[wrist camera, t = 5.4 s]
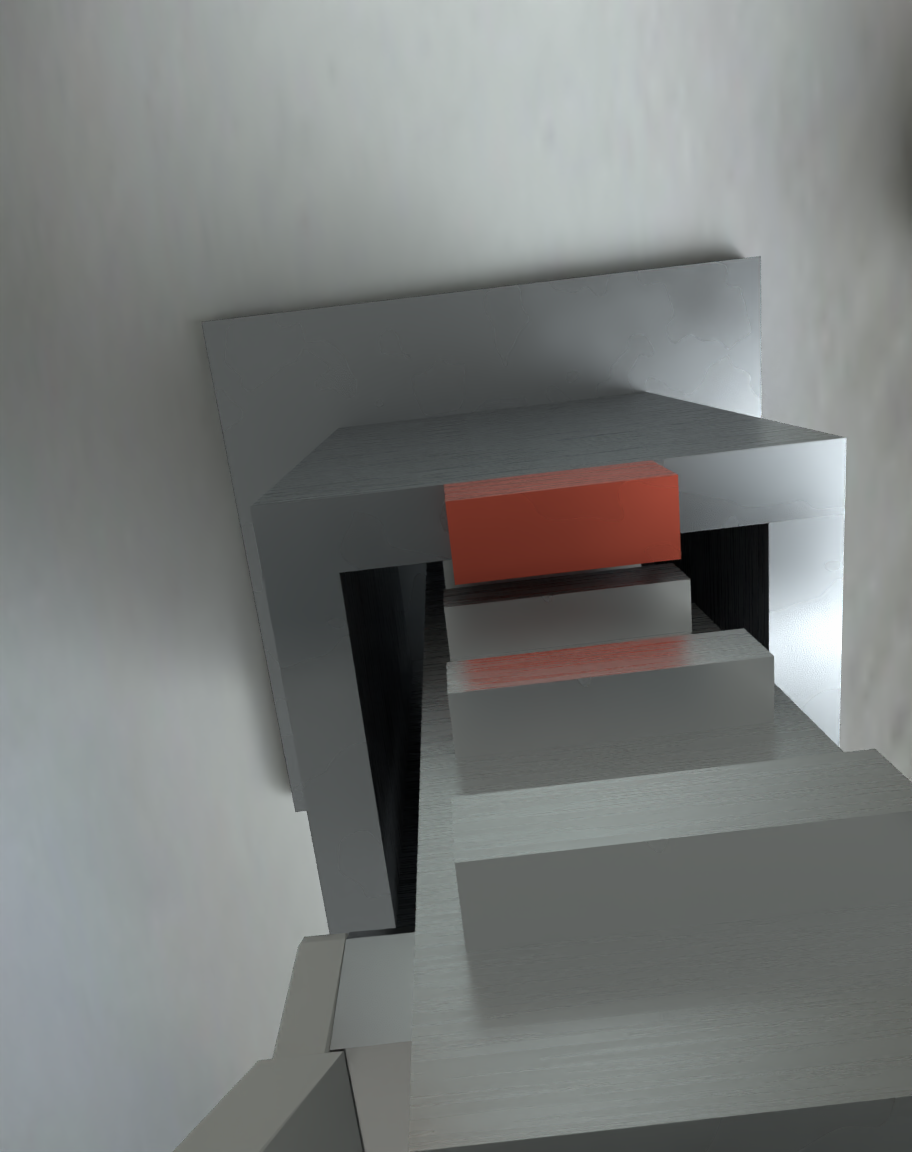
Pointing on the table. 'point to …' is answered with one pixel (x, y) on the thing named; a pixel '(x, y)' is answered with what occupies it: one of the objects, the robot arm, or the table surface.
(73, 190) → the table surface
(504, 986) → the column
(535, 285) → the sleeve
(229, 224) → the table surface
